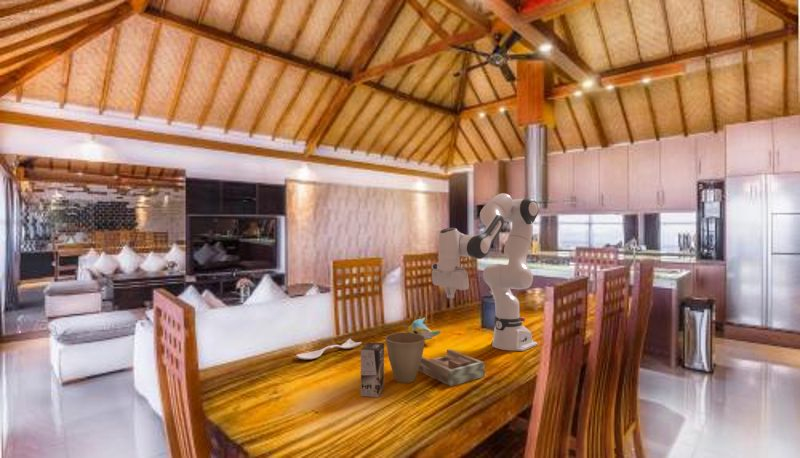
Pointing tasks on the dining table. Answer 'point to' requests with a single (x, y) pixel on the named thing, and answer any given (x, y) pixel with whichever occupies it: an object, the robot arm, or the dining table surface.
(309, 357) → the white plastic spork
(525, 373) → the dining table surface
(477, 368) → the tray
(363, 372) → the coffee box
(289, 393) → the dining table surface
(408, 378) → the plant pot
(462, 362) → the walnut block
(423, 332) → the decorative bird
